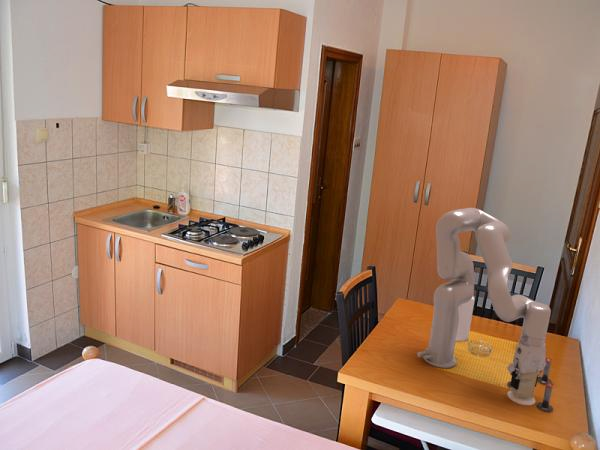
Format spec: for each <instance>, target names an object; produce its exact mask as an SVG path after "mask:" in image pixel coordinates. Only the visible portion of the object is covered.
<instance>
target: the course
mask: <svg viewBox="0 0 600 450" xmlns="http://www.w3.org/2000/svg"><path fill="white" fill-rule="evenodd" d="M545 362H546V366H545V367H544V368H543V370H542V375H541V376H538V380H537V383H540V384H542V385H545V389H544V394H543V397H542V398H543V399H542V401H541V402H537V403H536V408H537V409H538V410H540V411H541V412H546V413H552V412H554V407H553V406H552V405H550V402H551V396H552V391H553V388H554V383H553V382H552V380H551V379H549V376H550V371H551V367H552V363H553V359H551V358H550V357H545ZM510 383H511V380H509V381H507V383H506V385H507V386H508V387H509V388H510V389H511V385H510Z"/></svg>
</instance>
